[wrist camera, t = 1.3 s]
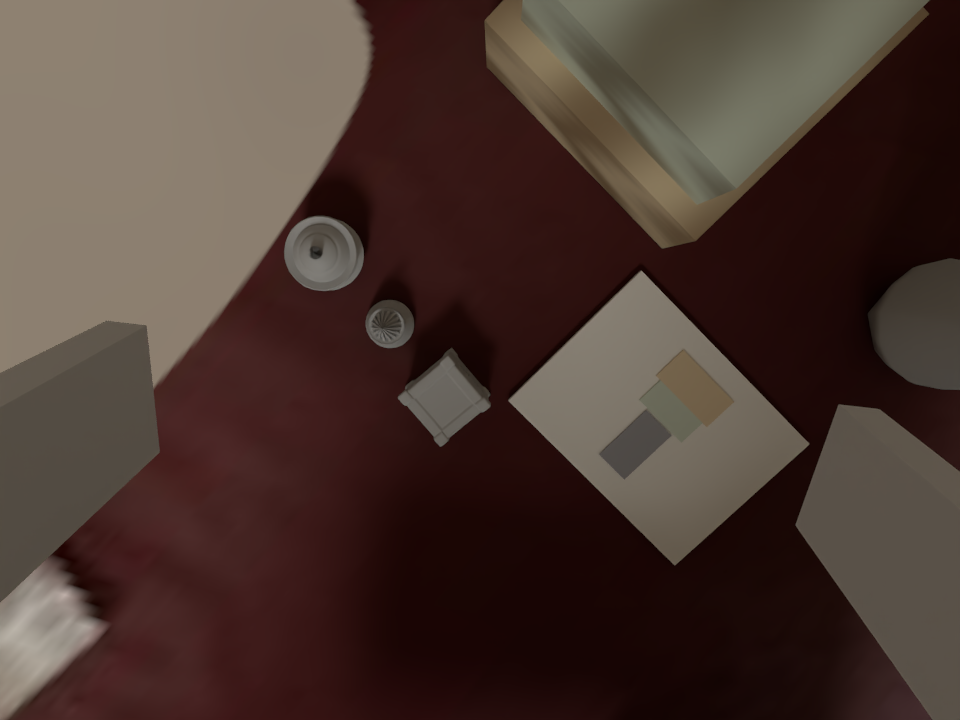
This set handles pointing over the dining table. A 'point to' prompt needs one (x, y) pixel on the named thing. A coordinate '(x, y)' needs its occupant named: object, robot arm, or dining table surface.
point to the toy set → (385, 325)
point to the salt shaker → (921, 325)
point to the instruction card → (658, 419)
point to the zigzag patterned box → (686, 88)
